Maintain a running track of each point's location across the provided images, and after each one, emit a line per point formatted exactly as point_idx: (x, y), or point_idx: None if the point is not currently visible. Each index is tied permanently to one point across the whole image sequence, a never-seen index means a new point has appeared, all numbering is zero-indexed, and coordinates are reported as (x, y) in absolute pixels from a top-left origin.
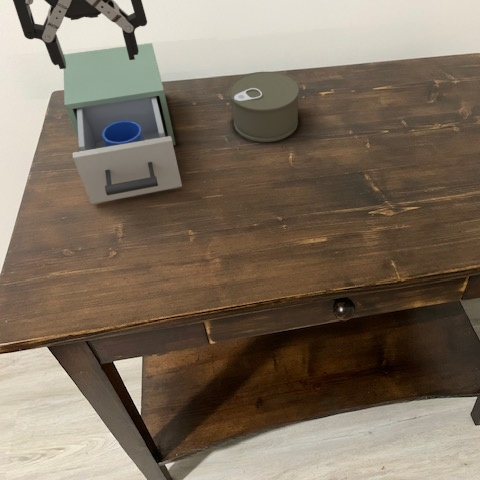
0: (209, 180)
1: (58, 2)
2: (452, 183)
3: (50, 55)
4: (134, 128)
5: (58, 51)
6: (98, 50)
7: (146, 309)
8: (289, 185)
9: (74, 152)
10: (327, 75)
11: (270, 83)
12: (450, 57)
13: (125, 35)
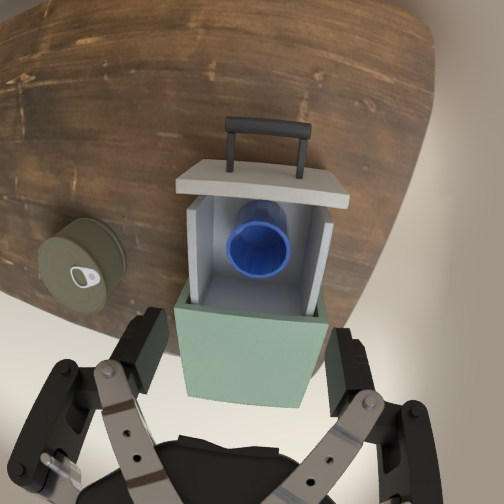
0: (167, 168)
1: None
2: None
3: (365, 360)
4: (238, 260)
5: (345, 365)
6: (255, 404)
7: None
8: (83, 132)
9: (344, 207)
10: (45, 300)
11: (65, 289)
12: None
13: (130, 359)
